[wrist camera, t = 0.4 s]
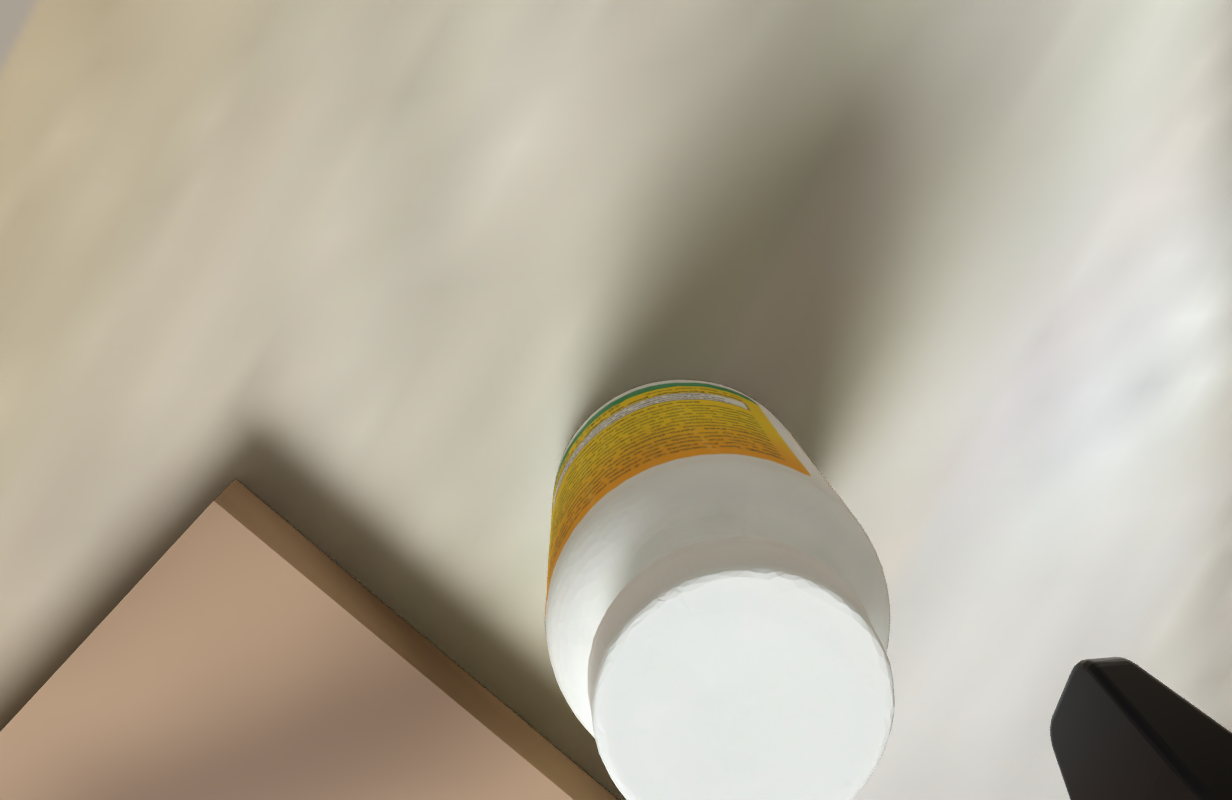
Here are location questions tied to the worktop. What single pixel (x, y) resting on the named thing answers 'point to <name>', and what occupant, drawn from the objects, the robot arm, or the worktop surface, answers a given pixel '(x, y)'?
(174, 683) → the light tan board
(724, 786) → the supplement bottle
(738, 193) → the worktop surface
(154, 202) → the worktop surface
